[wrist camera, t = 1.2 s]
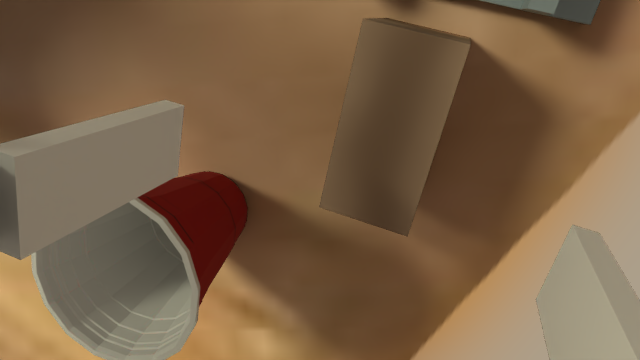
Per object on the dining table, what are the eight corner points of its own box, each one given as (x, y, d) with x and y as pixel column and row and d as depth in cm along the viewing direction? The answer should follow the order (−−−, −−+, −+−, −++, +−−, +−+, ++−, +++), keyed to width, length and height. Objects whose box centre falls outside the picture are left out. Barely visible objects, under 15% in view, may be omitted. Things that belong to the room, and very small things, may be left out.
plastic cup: (298, 170, 32) (213, 248, 22) (259, 286, 37) (172, 398, 26) (168, 113, 34) (28, 158, 23) (146, 230, 38) (20, 314, 28)
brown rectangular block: (349, 168, 31) (319, 207, 25) (387, 18, 27) (363, 18, 21) (420, 190, 30) (407, 236, 24) (470, 37, 26) (470, 44, 20)
